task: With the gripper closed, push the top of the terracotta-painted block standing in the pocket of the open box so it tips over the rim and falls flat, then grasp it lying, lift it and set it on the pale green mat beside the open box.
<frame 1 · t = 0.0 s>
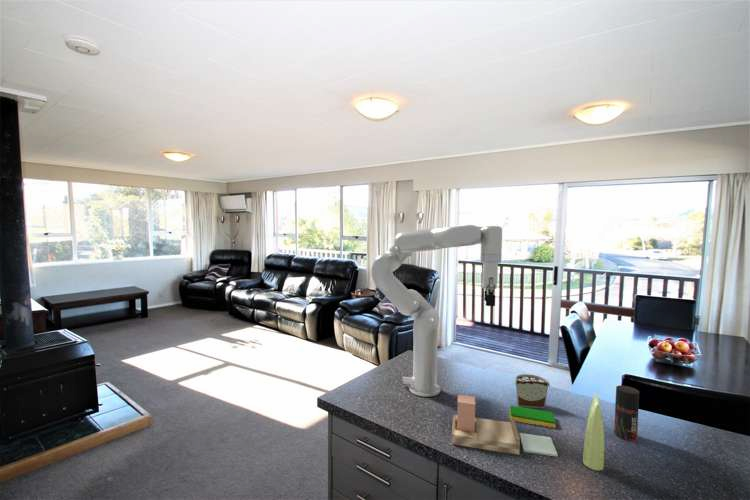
hand: (489, 303, 135), 37 cm above the counter, tool pointing down, fingers open, 9 cm apart
dish sponge: (531, 420, 121), on the counter
open box: (483, 437, 109), on the counter
tube: (593, 466, 97), on the counter
food container: (528, 403, 133), on the counter
deodorant: (625, 436, 112), on the counter
block: (465, 414, 110), point 6 cm above the counter, touching open box
mat: (537, 445, 106), on the counter
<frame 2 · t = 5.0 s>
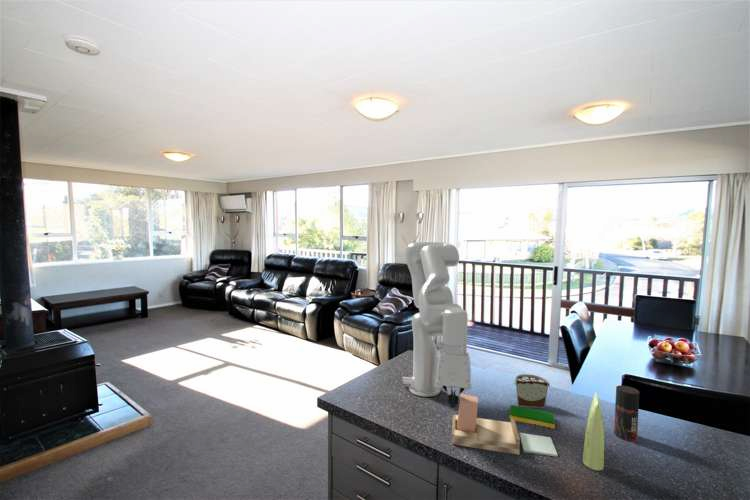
hand: (453, 405, 111), 9 cm above the counter, tool pointing down, fingers closed
block: (467, 414, 110), point 7 cm above the counter, touching open box, gripper
everything else where it was.
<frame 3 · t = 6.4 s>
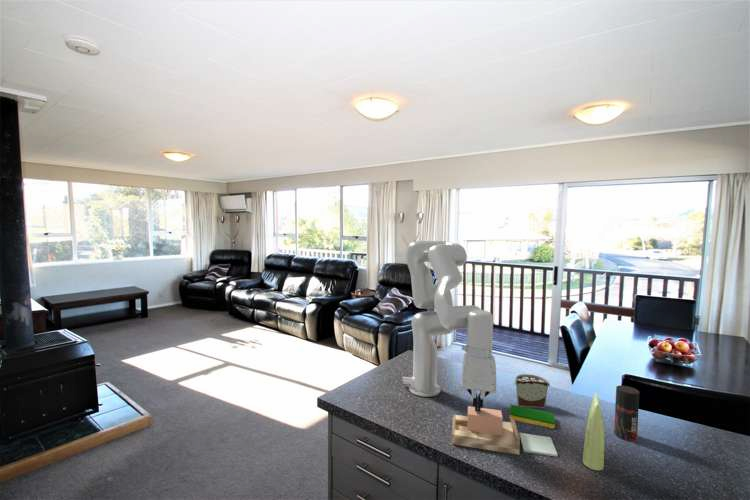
hand: (477, 409, 109), 9 cm above the counter, tool pointing down, fingers closed
block: (484, 420, 109), point 6 cm above the counter, tilted 90°, touching open box
everything else where it was.
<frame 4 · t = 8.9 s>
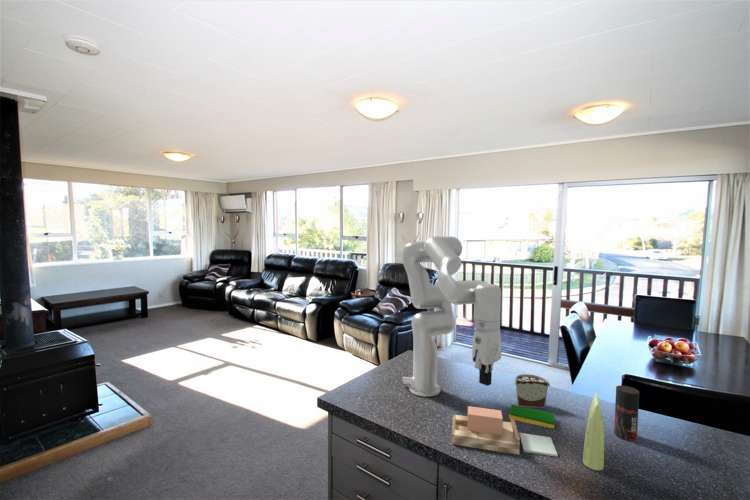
hand: (485, 383, 109), 17 cm above the counter, tool pointing down, fingers closed
nothing on the counter moved.
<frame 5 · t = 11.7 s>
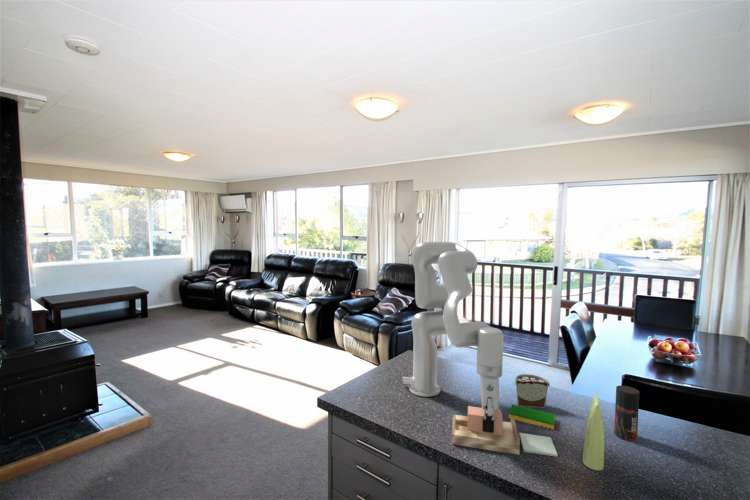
hand: (487, 426, 109), 4 cm above the counter, tool pointing down, fingers closed on block, 5 cm apart
block: (484, 420, 109), point 6 cm above the counter, tilted 90°, touching open box, gripper
everything else where it was.
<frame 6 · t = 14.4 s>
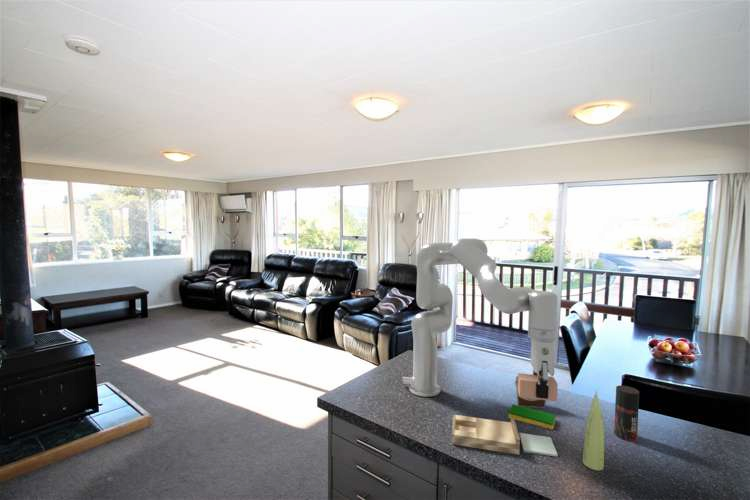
hand: (539, 392, 105), 16 cm above the counter, tool pointing down, fingers closed on block, 5 cm apart
block: (536, 386, 105), point 18 cm above the counter, tilted 90°, touching gripper
everything else where it was.
when the fingers open (3 cm above the counter, at t = 17.0 s): block drops 2 cm, resting on mat.
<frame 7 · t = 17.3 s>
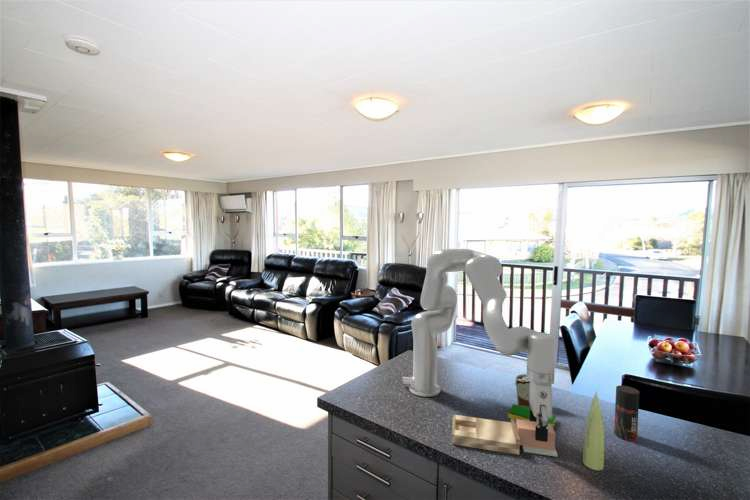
hand: (538, 431, 106), 4 cm above the counter, tool pointing down, fingers open, 8 cm apart
block: (534, 434, 106), point 3 cm above the counter, tilted 90°, touching mat
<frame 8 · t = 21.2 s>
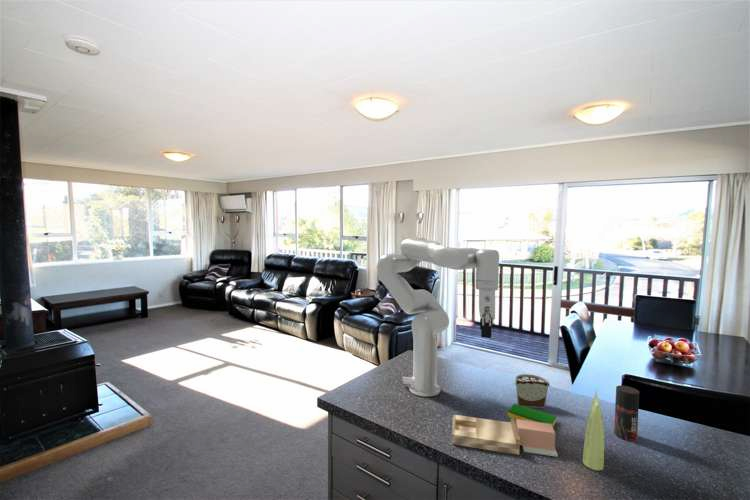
hand: (485, 333, 124), 28 cm above the counter, tool pointing down, fingers open, 9 cm apart
at the end: block inside the target area on the mat (0.9 cm from its centre), point 3.2 cm above the mat's base; the gripper is holding nothing; block moved 20.4 cm from its start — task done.
